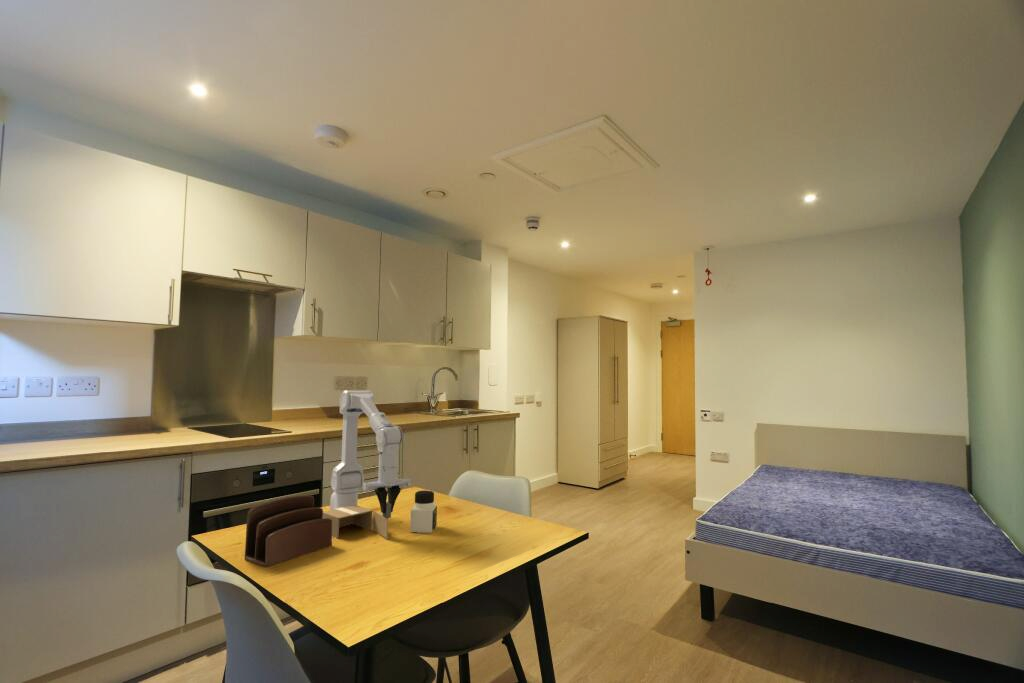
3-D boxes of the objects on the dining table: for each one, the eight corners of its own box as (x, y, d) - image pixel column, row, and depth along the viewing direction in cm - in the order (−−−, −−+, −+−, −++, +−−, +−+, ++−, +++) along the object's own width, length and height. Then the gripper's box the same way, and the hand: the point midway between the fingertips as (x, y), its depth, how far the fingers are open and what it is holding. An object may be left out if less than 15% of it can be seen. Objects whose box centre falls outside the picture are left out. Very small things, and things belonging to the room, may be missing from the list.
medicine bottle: (432, 533, 152) (433, 493, 153) (409, 532, 152) (411, 493, 153) (436, 526, 159) (437, 489, 160) (414, 526, 160) (415, 488, 161)
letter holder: (243, 560, 128) (246, 504, 129) (310, 540, 145) (312, 491, 146) (265, 568, 123) (268, 510, 124) (332, 546, 139) (334, 496, 141)
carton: (319, 531, 152) (320, 511, 153) (354, 523, 161) (354, 504, 162) (337, 538, 146) (338, 517, 146) (371, 529, 155) (372, 509, 156)
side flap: (386, 538, 145) (387, 505, 146) (372, 529, 155) (373, 497, 156) (391, 537, 146) (392, 504, 147) (377, 528, 156) (378, 497, 156)
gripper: (369, 470, 142) (367, 518, 141) (415, 466, 150) (414, 511, 149) (361, 467, 148) (359, 513, 147) (406, 463, 156) (405, 506, 155)
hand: (386, 512), depth 148 cm, fingers closed on side flap
